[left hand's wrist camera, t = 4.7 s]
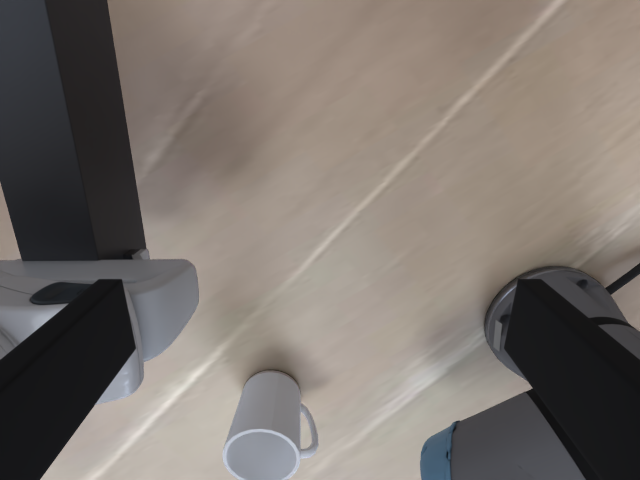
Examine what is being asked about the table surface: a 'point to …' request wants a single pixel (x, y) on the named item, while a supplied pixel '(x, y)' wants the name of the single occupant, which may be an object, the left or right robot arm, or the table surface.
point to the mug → (268, 429)
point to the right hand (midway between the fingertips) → (102, 257)
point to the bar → (65, 133)
